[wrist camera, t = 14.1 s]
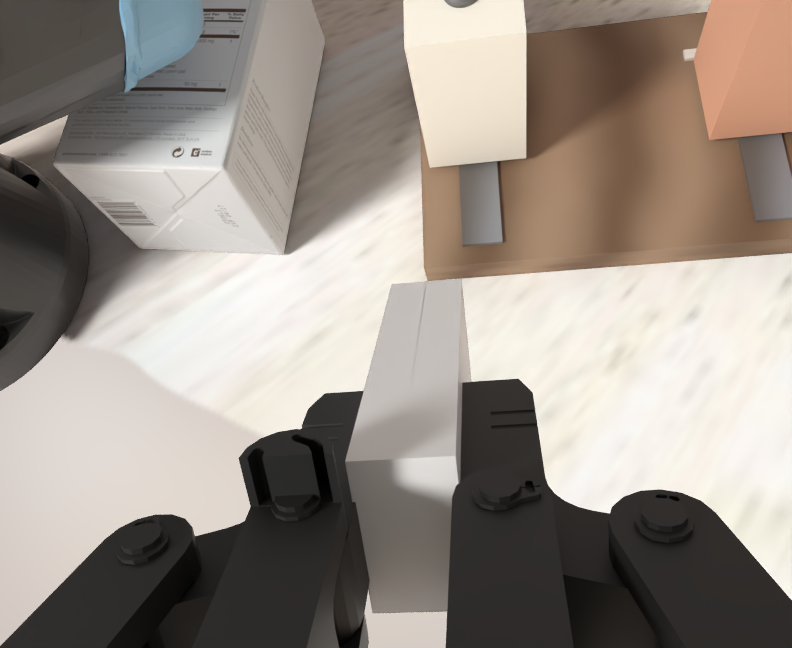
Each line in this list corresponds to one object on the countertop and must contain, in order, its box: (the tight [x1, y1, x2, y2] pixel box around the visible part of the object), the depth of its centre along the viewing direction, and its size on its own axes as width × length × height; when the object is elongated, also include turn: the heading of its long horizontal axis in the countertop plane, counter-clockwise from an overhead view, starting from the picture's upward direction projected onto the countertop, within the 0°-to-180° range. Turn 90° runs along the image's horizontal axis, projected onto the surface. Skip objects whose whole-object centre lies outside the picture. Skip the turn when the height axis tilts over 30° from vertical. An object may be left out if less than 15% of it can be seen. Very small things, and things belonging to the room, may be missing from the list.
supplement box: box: [52, 0, 325, 255], centre depth 40 cm, size 9×9×15 cm
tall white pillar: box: [403, 0, 526, 168], centre depth 36 cm, size 5×5×9 cm
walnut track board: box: [420, 12, 792, 281], centre depth 39 cm, size 20×14×2 cm
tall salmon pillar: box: [694, 0, 792, 140], centre depth 33 cm, size 5×5×9 cm
